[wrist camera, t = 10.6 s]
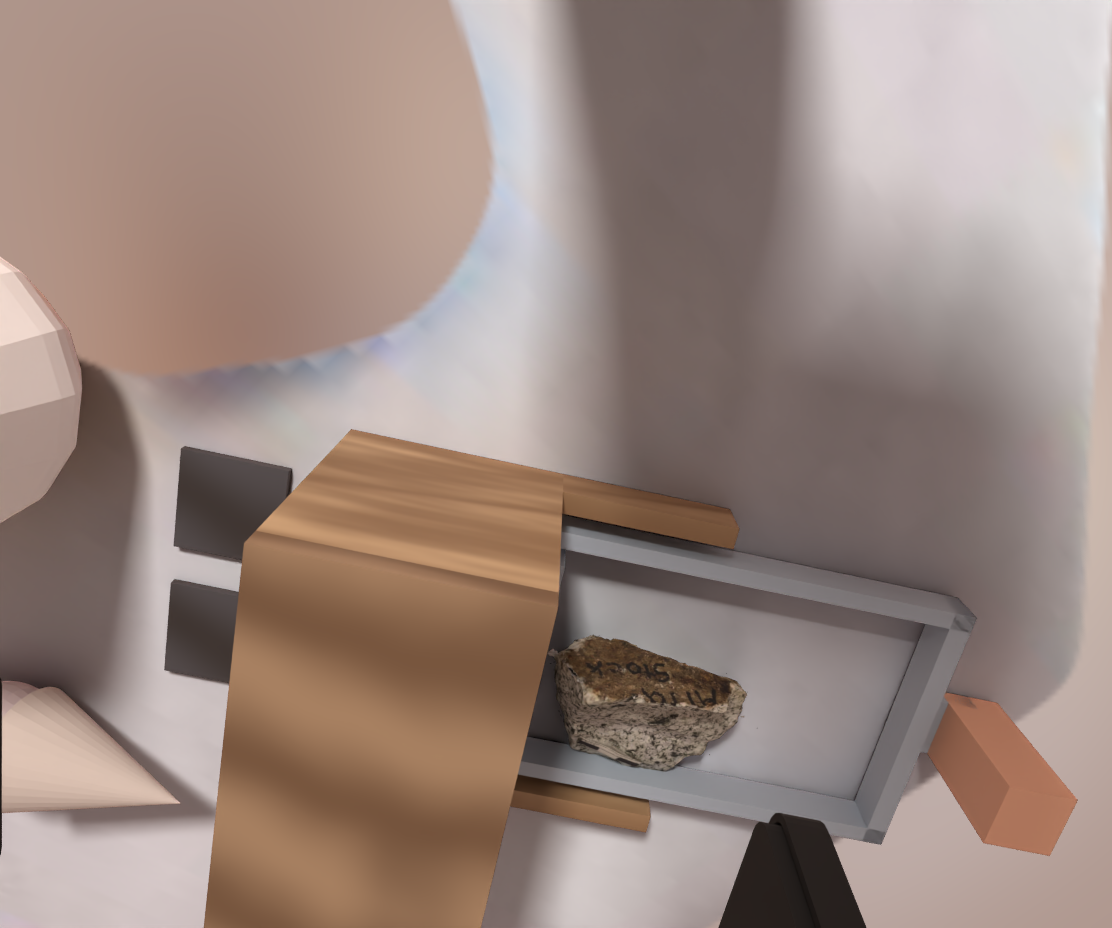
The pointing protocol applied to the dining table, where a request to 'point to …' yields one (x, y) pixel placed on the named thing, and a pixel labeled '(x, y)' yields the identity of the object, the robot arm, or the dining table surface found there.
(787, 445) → the dining table surface
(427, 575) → the brown wooden arch frame
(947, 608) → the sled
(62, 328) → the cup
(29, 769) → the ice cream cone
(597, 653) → the rock sample
